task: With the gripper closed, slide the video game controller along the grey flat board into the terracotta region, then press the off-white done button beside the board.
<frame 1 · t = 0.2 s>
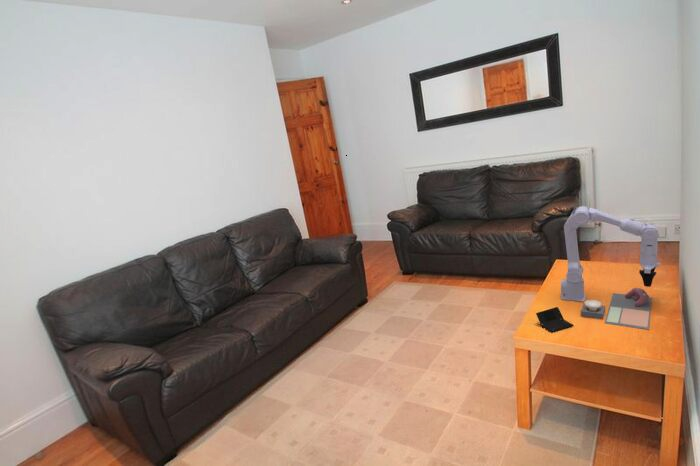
hand: (648, 282, 164), 10 cm above the table, tool pointing down, fingers open, 7 cm apart
grey flat board: (629, 309, 164), on the table
button housing: (593, 313, 166), on the table
done button: (592, 306, 165), point 3 cm above the table, slide at 0.0 cm
handheld gaming console: (554, 325, 163), on the table
video game controller: (637, 302, 169), resting on grey flat board
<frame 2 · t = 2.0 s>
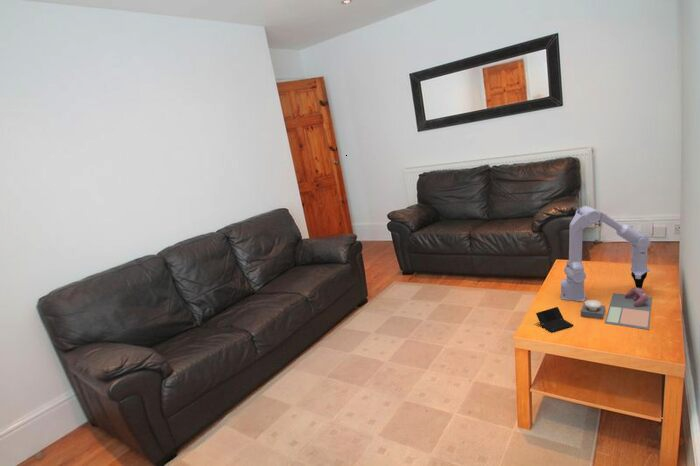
hand: (639, 287, 176), 3 cm above the table, tool pointing down, fingers closed
nothing on the table moved.
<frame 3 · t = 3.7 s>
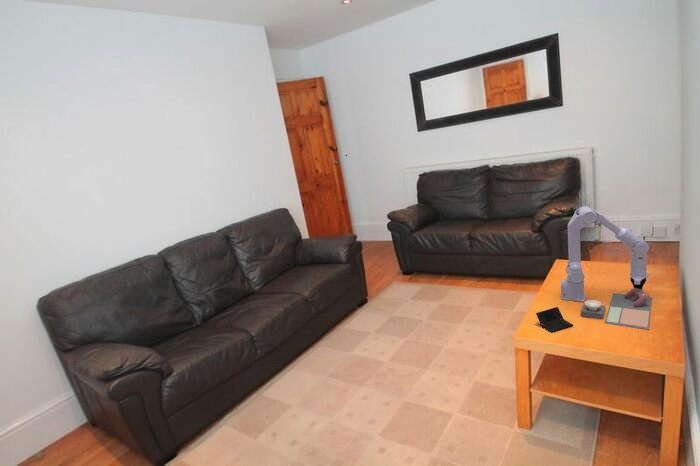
hand: (638, 292, 173), 2 cm above the table, tool pointing down, fingers closed
video game controller: (636, 302, 169), resting on grey flat board, touching gripper
everything else where it was.
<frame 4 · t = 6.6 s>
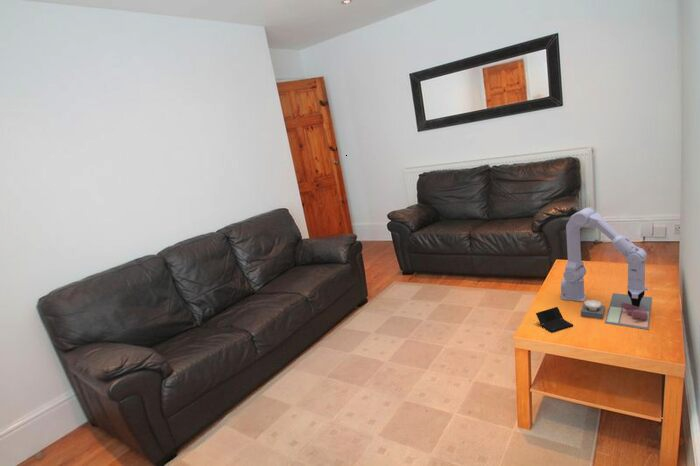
hand: (635, 306, 162), 2 cm above the table, tool pointing down, fingers closed
video game controller: (628, 313, 159), point 2 cm above the table, touching gripper
everything else where it was.
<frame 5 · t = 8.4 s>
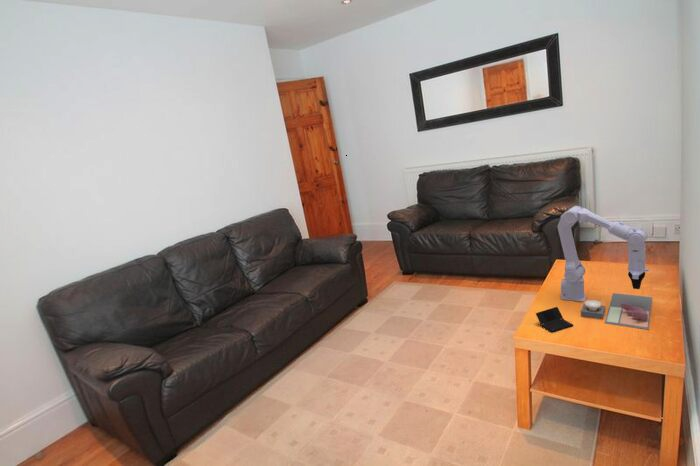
hand: (636, 288, 162), 9 cm above the table, tool pointing down, fingers closed
video game controller: (628, 314, 158), point 2 cm above the table, touching grey flat board
everything else where it was.
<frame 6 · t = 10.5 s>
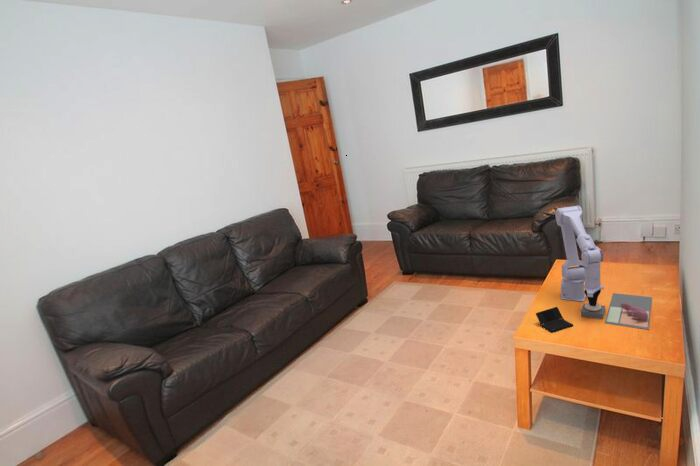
hand: (592, 305, 165), 4 cm above the table, tool pointing down, fingers closed, pressing on done button
done button: (592, 309, 166), point 2 cm above the table, slide at 1.1 cm, touching gripper
everything else where it was.
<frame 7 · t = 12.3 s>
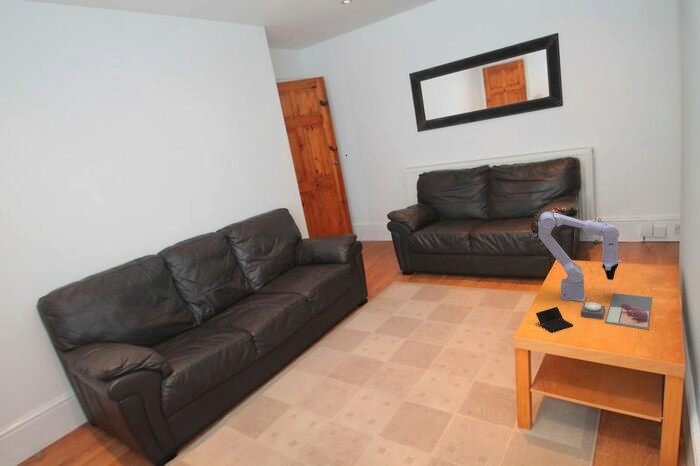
hand: (610, 279, 174), 9 cm above the table, tool pointing down, fingers closed
done button: (592, 309, 166), point 2 cm above the table, slide at 1.1 cm
everything else where it was.
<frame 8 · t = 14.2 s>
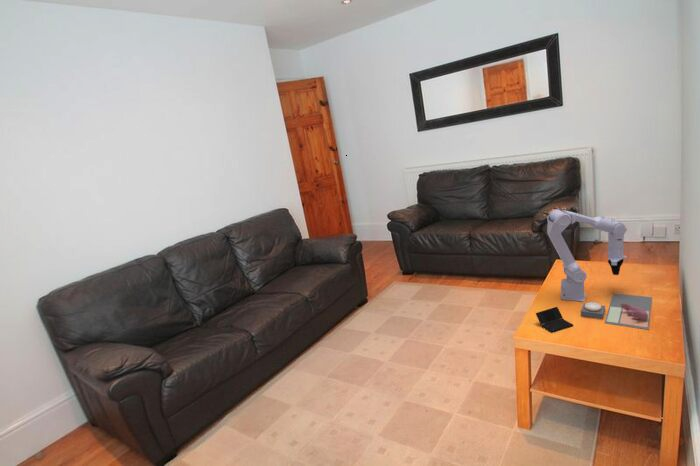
hand: (615, 274, 178), 9 cm above the table, tool pointing down, fingers closed
nothing on the table moved.
at the end: video game controller inside the target area (2.2 cm from its centre), point 1.8 cm above the table; the gripper is holding nothing; done button slide at 1.1 cm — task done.
